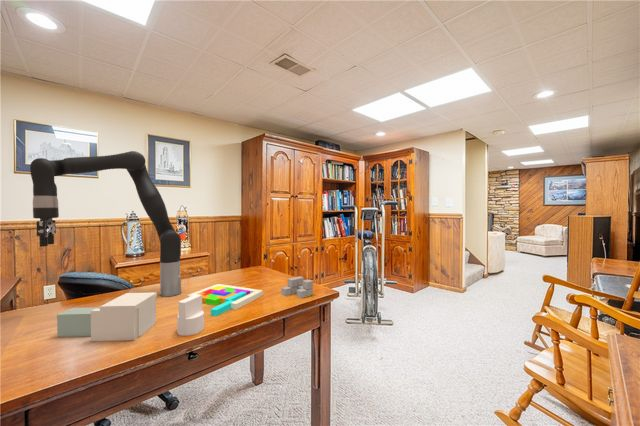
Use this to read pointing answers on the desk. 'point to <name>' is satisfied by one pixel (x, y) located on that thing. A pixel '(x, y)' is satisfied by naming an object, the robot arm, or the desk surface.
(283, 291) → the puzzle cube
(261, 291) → the puzzle game
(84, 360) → the desk surface
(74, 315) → the pale sage rectangular prism
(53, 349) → the desk surface
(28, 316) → the desk surface
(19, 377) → the desk surface
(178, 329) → the cylinder with rectangular tab
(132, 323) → the cream slotted block
